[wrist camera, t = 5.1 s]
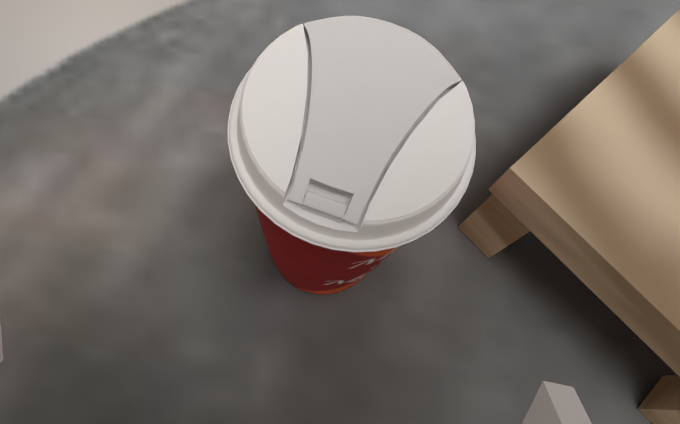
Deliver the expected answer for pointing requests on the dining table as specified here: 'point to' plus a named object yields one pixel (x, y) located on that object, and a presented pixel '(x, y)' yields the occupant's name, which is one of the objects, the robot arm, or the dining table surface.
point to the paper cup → (349, 146)
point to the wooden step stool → (610, 202)
